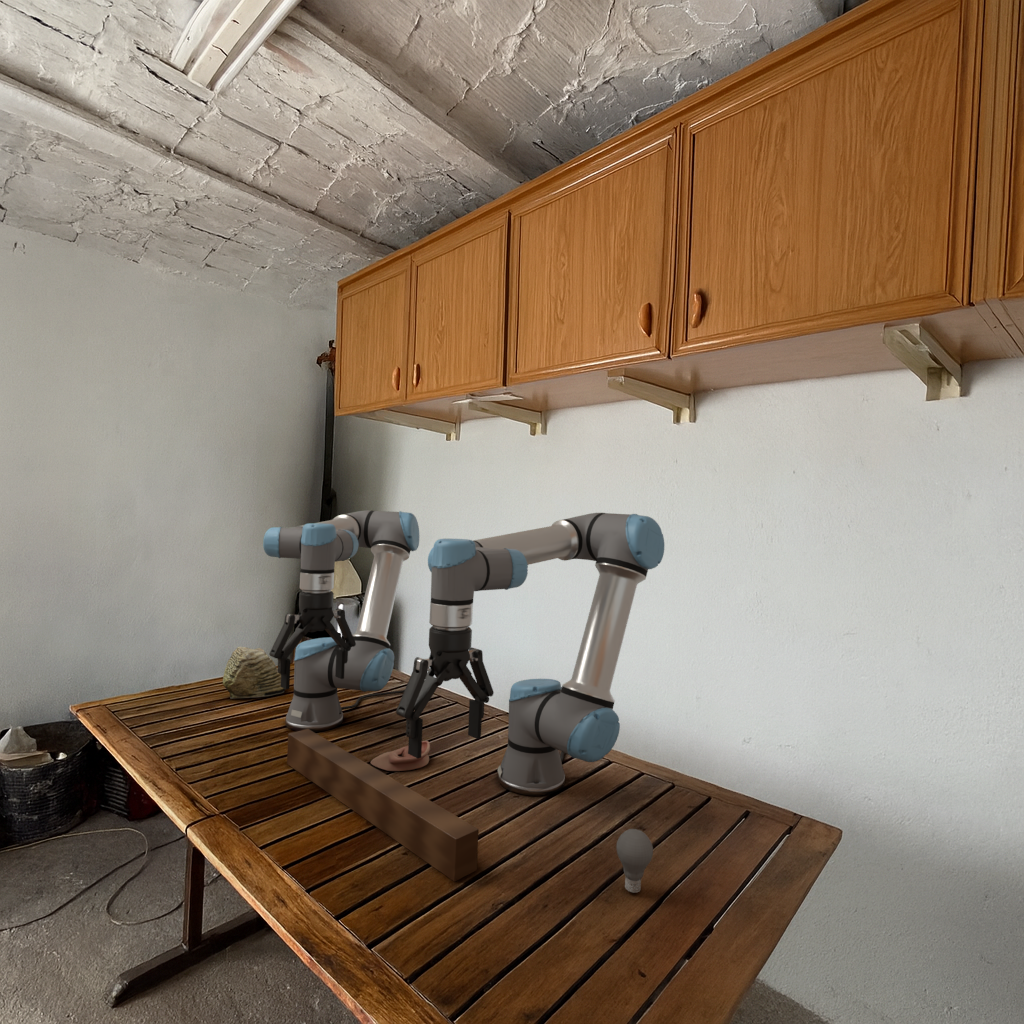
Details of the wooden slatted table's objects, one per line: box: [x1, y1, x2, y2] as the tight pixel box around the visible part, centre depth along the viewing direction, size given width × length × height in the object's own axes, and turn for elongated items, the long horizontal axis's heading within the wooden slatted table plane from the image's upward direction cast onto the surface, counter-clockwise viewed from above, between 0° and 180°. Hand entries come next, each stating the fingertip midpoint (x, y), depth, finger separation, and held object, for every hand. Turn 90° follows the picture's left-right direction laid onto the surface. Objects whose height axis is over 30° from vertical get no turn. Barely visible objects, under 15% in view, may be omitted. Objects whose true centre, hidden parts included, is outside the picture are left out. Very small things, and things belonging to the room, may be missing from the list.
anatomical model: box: [370, 740, 431, 772], centre depth 153 cm, size 13×4×12 cm
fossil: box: [222, 646, 287, 699], centre depth 198 cm, size 9×18×15 cm, turn 132°
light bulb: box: [615, 828, 654, 894], centre depth 106 cm, size 6×6×10 cm
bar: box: [286, 729, 479, 882], centre depth 129 cm, size 61×5×7 cm, turn 45°
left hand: (313, 682), depth 146 cm, fingers open, 13 cm apart
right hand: (445, 745), depth 112 cm, fingers open, 13 cm apart
